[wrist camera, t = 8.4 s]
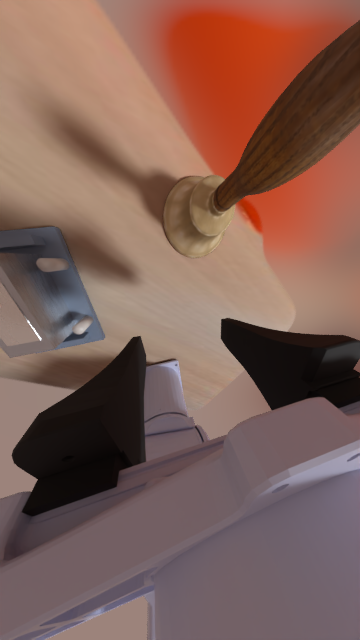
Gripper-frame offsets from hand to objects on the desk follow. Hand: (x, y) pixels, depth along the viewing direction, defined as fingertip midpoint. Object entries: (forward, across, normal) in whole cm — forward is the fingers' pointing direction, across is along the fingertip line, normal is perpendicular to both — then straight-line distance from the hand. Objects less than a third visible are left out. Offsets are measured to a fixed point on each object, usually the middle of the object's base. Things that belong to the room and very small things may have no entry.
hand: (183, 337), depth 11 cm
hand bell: (+10, -5, -10) cm, 15 cm away
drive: (+9, +15, -4) cm, 18 cm away
